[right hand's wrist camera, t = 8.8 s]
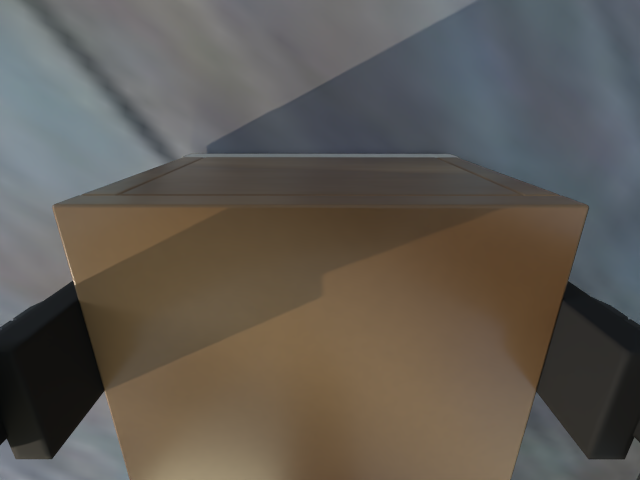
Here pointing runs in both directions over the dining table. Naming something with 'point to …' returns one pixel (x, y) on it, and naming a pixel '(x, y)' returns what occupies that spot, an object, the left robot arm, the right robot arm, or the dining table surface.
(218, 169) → the cabinet
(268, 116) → the dining table surface
